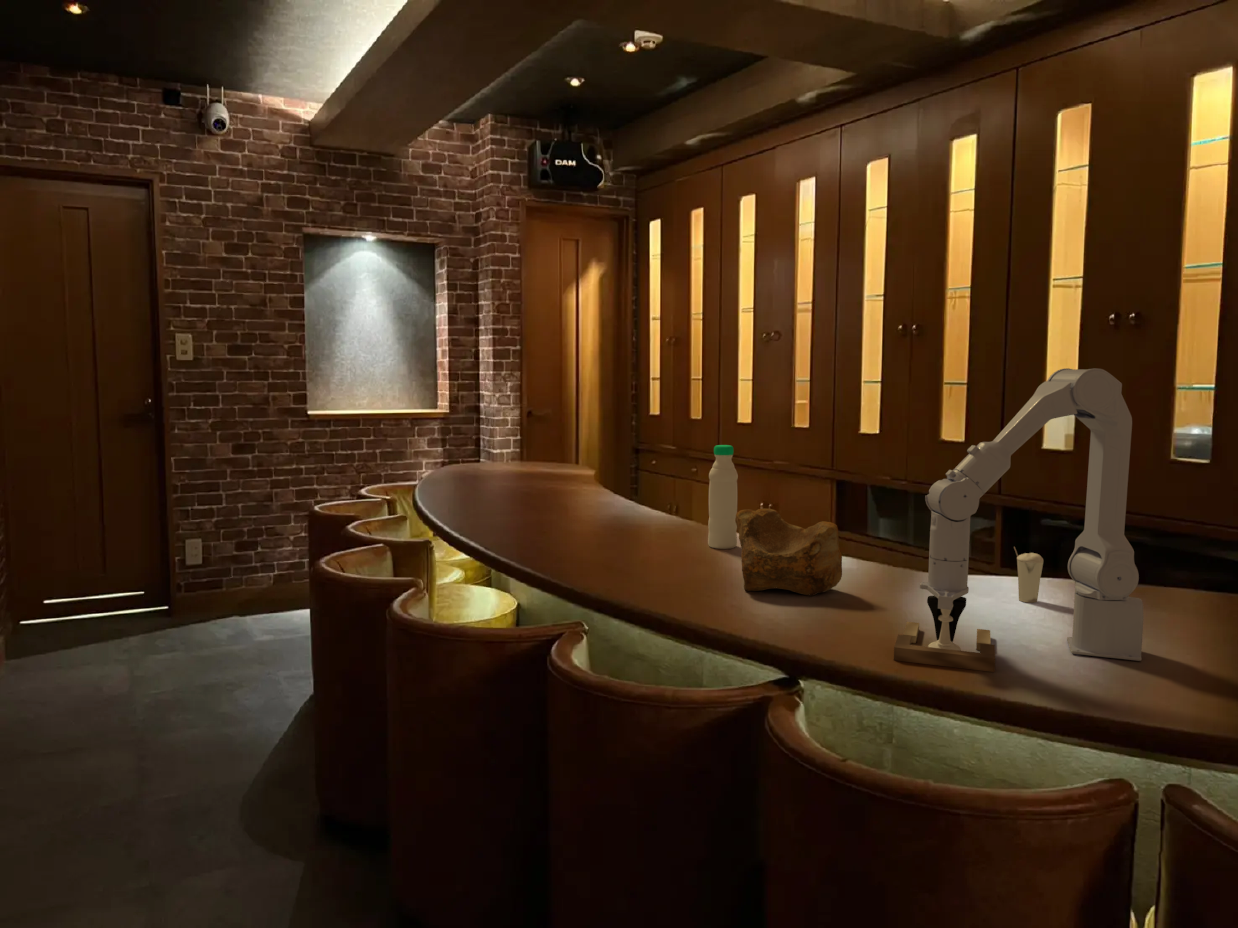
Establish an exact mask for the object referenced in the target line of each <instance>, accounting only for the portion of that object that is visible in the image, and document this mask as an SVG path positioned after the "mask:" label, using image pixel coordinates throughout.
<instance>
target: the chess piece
mask: <svg viewBox="0 0 1238 928" xmlns="http://www.w3.org/2000/svg"><path fill="white" fill-rule="evenodd" d="M948 593H949V591H948ZM952 608H953V607H952ZM941 612H942V615H940V616H939V617H938V619H939V620H940V621H942V626H941V632H940V637H939V640H937V639H936V641H932V642H931V643H929V644H928V645H927V647H932V648H941V649H949V650H958V651H962V649H961V646H959V645H958V644H956V643H954V642H953V643H952V641H951V640H950V632H949V622H951V621H953V618H952V617H951V616H949V615H950V613H951V610H948V609H941Z"/></svg>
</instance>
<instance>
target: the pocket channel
mask: <svg viewBox="0 0 1238 928" xmlns="http://www.w3.org/2000/svg"><path fill="white" fill-rule="evenodd" d="M903 630H904V631H903V633H902V635H908V636H912V638H911V644H916V643H917V640H918V636H919V631H920V622H914V621H913V622H912V621H906V622H905V627H904V629H903ZM980 643H982V644H991V645H992V643H991V629H983V628H977V629H976V649H975V650H976V651H980Z"/></svg>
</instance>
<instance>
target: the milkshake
mask: <svg viewBox="0 0 1238 928" xmlns="http://www.w3.org/2000/svg"><path fill="white" fill-rule="evenodd" d="M1013 549H1014V551H1015V552H1014V553H1015V555H1016V565H1017V576H1018V577H1017V578H1018V579H1017V581H1018V589H1017V590H1018V601H1020V602H1021V603H1027V604H1028V603H1029V604H1036V603H1038V598H1039V590H1040V584H1041V577H1042V571H1043V566H1044V558H1043V557H1042V556H1041V555H1040V554H1038V553H1034V552H1029V553H1026V552H1024V553H1021V554H1018V551H1017V549H1016V547H1015V546H1013Z"/></svg>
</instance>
